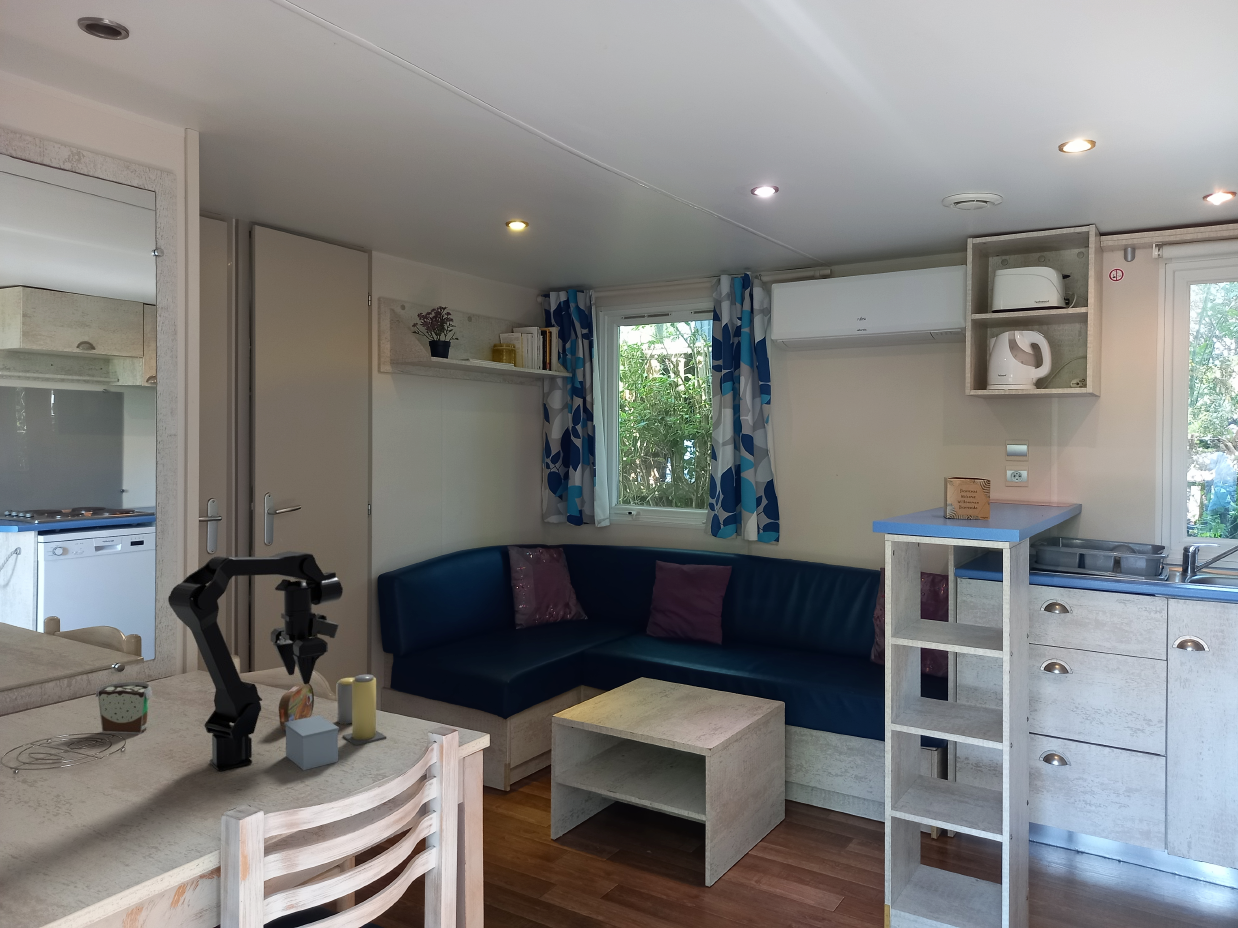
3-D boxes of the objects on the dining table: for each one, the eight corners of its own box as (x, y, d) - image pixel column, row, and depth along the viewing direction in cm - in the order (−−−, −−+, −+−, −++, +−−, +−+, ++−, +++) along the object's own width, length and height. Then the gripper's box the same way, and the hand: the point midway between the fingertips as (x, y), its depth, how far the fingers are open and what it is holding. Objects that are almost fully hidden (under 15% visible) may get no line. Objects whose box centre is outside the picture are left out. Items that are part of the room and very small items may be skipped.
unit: (303, 770, 170) (302, 735, 169) (284, 755, 178) (284, 722, 177) (339, 761, 174) (339, 727, 174) (319, 747, 182) (319, 714, 182)
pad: (355, 745, 183) (355, 743, 183) (342, 736, 189) (342, 735, 189) (386, 738, 188) (386, 736, 188) (372, 729, 193) (372, 728, 193)
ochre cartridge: (357, 741, 185) (357, 681, 184) (348, 734, 189) (348, 676, 188) (379, 736, 188) (379, 677, 188) (370, 730, 192) (370, 672, 191)
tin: (290, 734, 190) (289, 697, 190) (276, 734, 190) (275, 697, 190) (315, 713, 205) (315, 678, 205) (302, 713, 205) (302, 678, 205)
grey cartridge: (342, 725, 196) (342, 684, 196) (334, 720, 200) (333, 679, 200) (363, 721, 199) (363, 680, 199) (354, 715, 203) (354, 675, 203)
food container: (164, 724, 197) (164, 681, 197) (147, 733, 191) (146, 689, 190) (114, 722, 198) (114, 680, 198) (95, 731, 192) (95, 687, 192)
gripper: (350, 610, 186) (351, 681, 186) (318, 598, 200) (318, 664, 200) (299, 617, 178) (300, 691, 179) (269, 604, 193) (270, 672, 193)
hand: (298, 679), depth 188 cm, fingers open, 9 cm apart
